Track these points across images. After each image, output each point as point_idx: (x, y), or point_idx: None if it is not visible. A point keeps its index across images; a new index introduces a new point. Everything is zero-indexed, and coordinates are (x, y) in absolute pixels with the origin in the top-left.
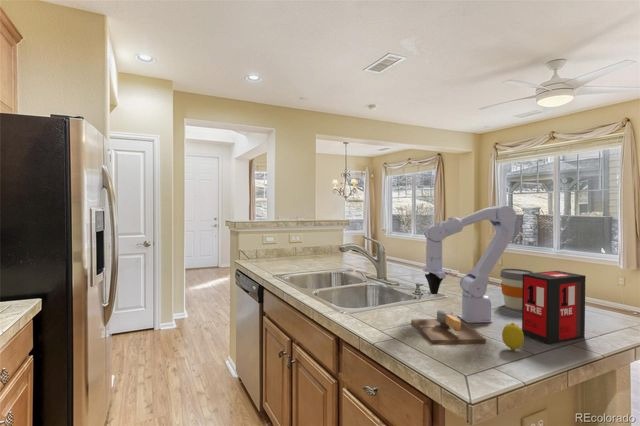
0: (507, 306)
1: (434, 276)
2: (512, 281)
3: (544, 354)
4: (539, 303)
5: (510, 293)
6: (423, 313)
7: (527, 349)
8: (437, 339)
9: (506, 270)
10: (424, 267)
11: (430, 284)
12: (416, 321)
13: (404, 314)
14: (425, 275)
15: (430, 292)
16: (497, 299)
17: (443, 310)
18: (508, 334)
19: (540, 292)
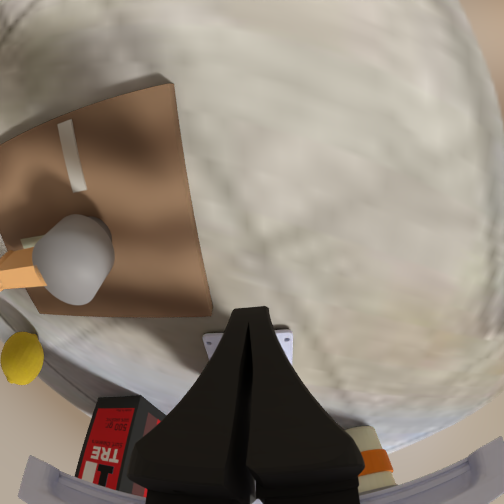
0: (351, 429)
1: (144, 486)
2: None
3: (47, 367)
4: (91, 467)
5: None
6: (347, 196)
7: (54, 359)
8: None
9: None
10: (497, 483)
11: (218, 378)
12: (135, 108)
13: (333, 78)
14: (304, 462)
15: (264, 310)
16: (409, 419)
17: (89, 278)
18: (2, 350)
19: None
